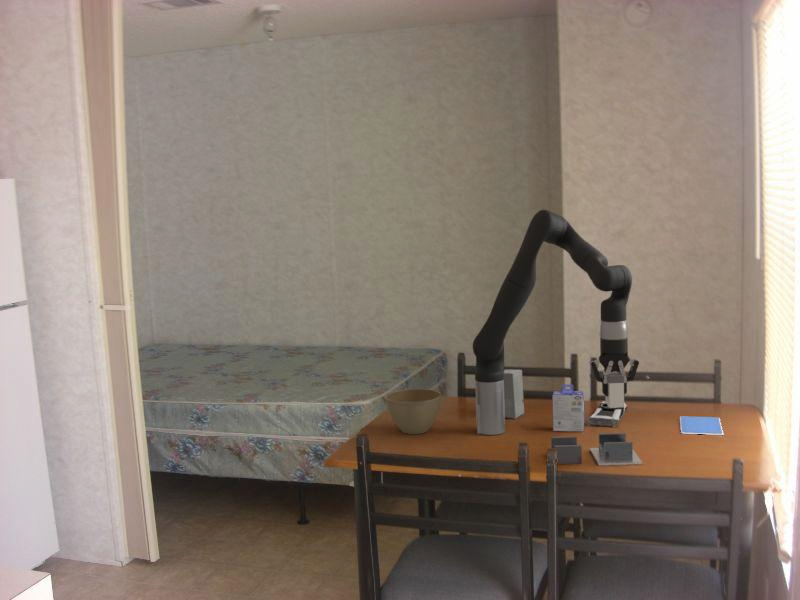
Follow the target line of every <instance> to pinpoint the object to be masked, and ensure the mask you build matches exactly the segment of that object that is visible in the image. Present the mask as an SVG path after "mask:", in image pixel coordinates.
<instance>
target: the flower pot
mask: <svg viewBox="0 0 800 600" xmlns="http://www.w3.org/2000/svg"><path fill="white" fill-rule="evenodd" d="M441 396H442V395H441V392H440V391H438V390H434V389H430V388H429V389H428V388H410V389H401V390H397V391H393V392H390V393H388V394H387V395H386V396H385V402H386V406H387V410H388V413H389V414H390V417H391V419H392V420H393V422H394V424H395V425H396V426H397V427H398V429H399V430H400V431H401V432H402V433H404V434H406V433H408V434H407V435H420V433H421V434H424V432H425V433H427V432H428V431H429V430H430V429H431V427H432V425H433V424H434V422H435V420H436V418H437V417H438V414H439V410H440V406H441V398H442V397H441Z"/></svg>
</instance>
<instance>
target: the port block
mask: <svg viewBox="0 0 800 600" xmlns="http://www.w3.org/2000/svg"><path fill="white" fill-rule="evenodd" d="M626 434H627V433H626V432H615V433H613V432H611V433H610V432H609V433H607V432H606V433H604V432H603V433H598V447H590V448H589V451H590V453H591V454H592V456H593V458H594V460H595V461H596V463H597V465H598V466H625V465H627V466H633V465H635V466H636V465H643V461H642V460H641V459H640V457H639V455H638V454H637V453H636V451H634V449H633V442H632V441H626V439H627V437H626V436H627V435H626Z"/></svg>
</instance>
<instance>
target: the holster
mask: <svg viewBox="0 0 800 600" xmlns="http://www.w3.org/2000/svg"><path fill="white" fill-rule="evenodd" d="M551 449H556V451H557V458H558V464H557V465H560V464H562V465H565V464H568V465H569V464H582V463H583V460H582V459H583V455H582V454H583V453H582V452H583V451H582V449H583V448H582V445H581V444H578V437H577V436H575V435H573V436H572V435H571V436H550V450H551Z"/></svg>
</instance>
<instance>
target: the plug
mask: <svg viewBox="0 0 800 600" xmlns="http://www.w3.org/2000/svg"><path fill="white" fill-rule="evenodd" d="M604 396H605V395H604ZM604 398H605V401H606V404H607V405H608V406H609V407H610V408H616V407H624V403H625V396H624V376H623V375H621V374H620V373H619V372H616V371H614V372H611V373H610V375H608V396H605V397H604Z"/></svg>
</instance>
